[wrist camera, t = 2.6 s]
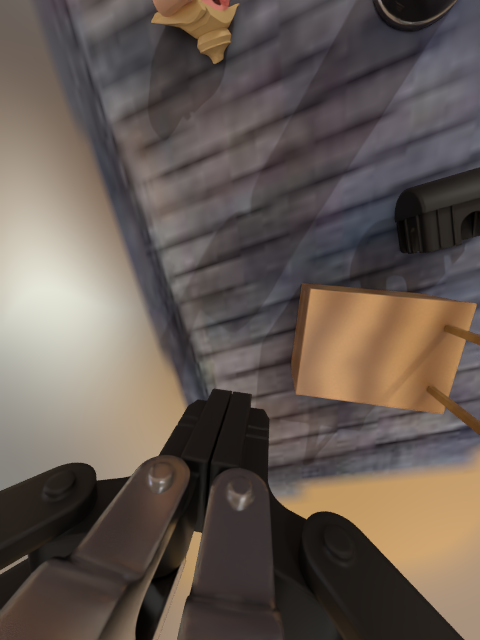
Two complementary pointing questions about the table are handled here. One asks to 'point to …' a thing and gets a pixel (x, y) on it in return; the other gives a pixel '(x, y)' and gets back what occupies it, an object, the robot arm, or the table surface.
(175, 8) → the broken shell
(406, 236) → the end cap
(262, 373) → the table surface
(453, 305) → the box lid
